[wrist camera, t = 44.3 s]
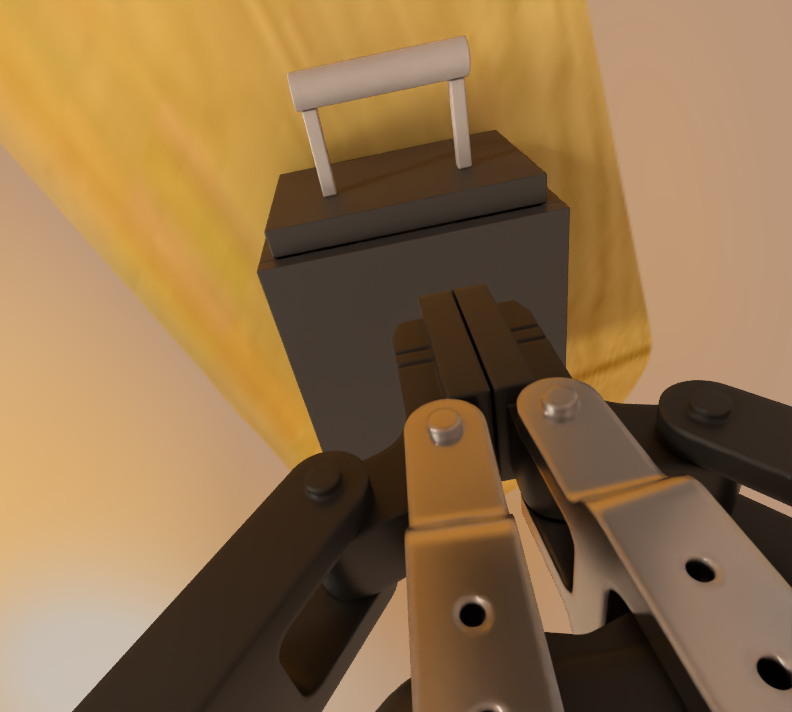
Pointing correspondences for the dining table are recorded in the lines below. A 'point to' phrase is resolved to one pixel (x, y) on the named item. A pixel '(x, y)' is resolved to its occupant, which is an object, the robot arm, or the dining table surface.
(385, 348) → the dark drawer cabinet
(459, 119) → the drawer with bar handle
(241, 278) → the dining table surface
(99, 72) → the dining table surface
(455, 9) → the dining table surface
